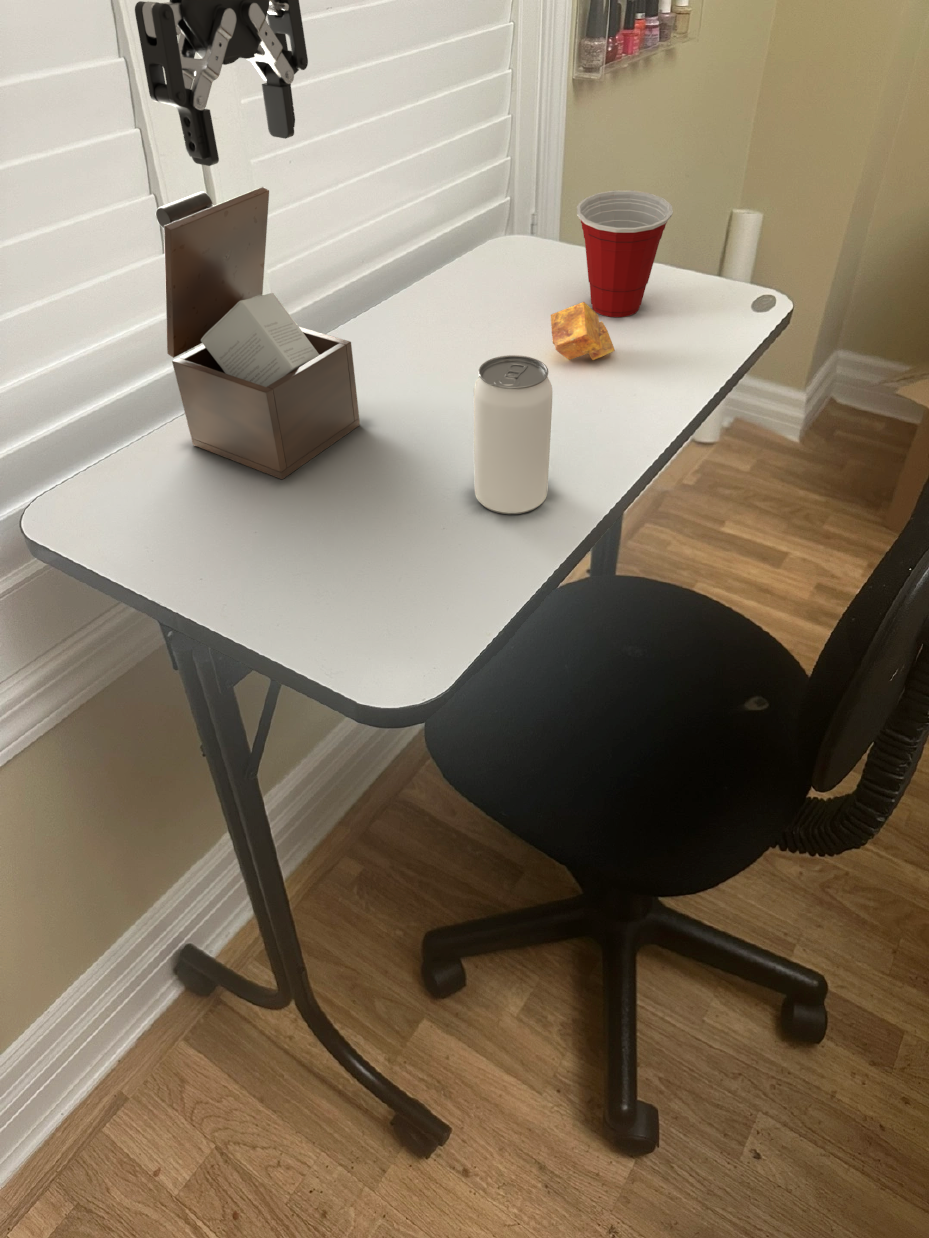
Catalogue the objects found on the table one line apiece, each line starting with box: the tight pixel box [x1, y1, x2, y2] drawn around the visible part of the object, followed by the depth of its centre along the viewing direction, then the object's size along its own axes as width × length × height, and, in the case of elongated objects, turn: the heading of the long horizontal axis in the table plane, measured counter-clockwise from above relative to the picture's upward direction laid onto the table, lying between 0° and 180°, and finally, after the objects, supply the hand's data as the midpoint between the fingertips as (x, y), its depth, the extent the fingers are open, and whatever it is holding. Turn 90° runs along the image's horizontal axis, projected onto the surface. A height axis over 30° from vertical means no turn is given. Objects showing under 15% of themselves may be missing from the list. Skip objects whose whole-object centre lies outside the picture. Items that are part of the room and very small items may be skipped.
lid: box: [155, 186, 270, 359], centre depth 81 cm, size 12×12×5 cm
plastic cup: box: [576, 189, 674, 318], centre depth 106 cm, size 11×11×12 cm
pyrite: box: [550, 301, 616, 361], centre depth 99 cm, size 5×7×4 cm
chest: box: [171, 326, 361, 480], centre depth 86 cm, size 12×12×9 cm
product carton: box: [201, 292, 319, 387], centre depth 83 cm, size 6×6×7 cm
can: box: [473, 354, 553, 515], centre depth 77 cm, size 6×6×12 cm
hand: (245, 149), depth 71 cm, fingers open, 8 cm apart
